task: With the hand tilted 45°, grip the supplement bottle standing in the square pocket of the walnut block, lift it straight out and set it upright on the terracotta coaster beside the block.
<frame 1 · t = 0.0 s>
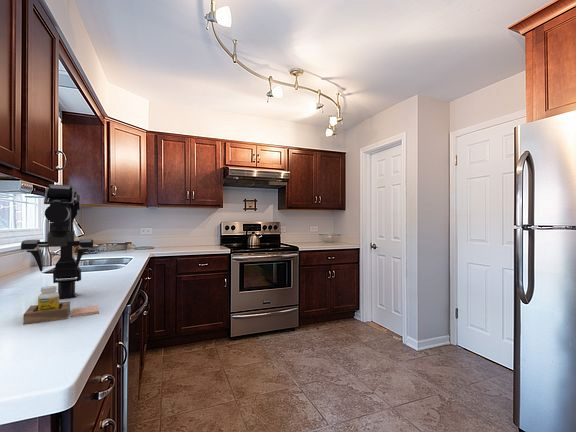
hand: (59, 270, 101), 15 cm above the table, tool pointing down, fingers open, 9 cm apart
pocket block: (48, 316, 98), on the table
coaster: (85, 312, 104), on the table
supplement bottle: (48, 317, 98), resting in pocket block
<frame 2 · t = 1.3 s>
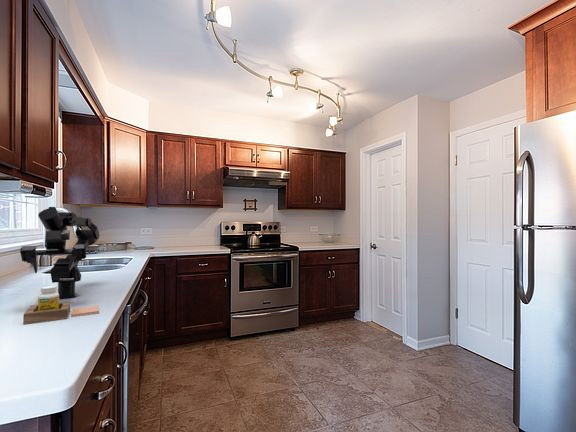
hand: (52, 271, 106), 13 cm above the table, tool tilted 45°, fingers open, 9 cm apart
nothing on the table moved.
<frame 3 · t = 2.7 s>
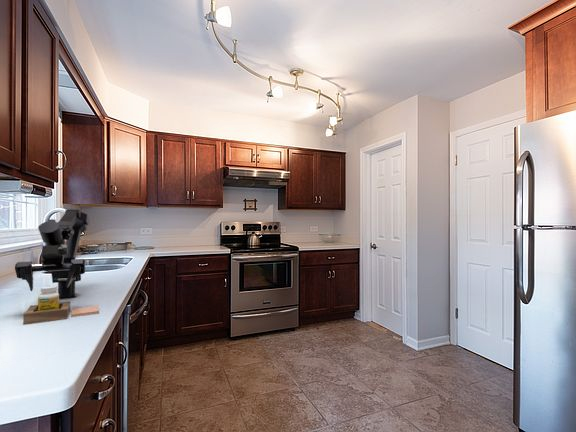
hand: (49, 288, 100), 9 cm above the table, tool tilted 45°, fingers open, 9 cm apart
nothing on the table moved.
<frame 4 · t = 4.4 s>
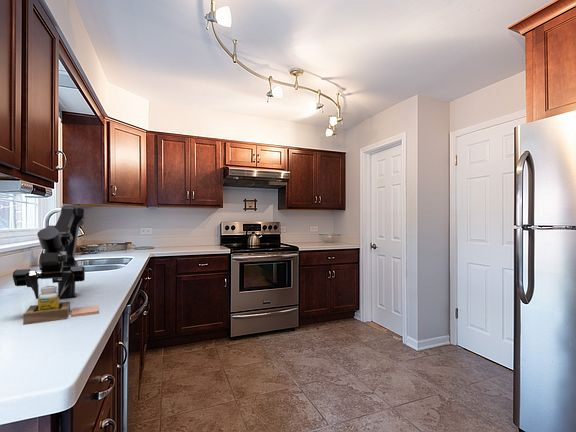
hand: (48, 297, 97), 7 cm above the table, tool tilted 45°, fingers closed on supplement bottle, 5 cm apart
supplement bottle: (48, 317, 98), resting in pocket block, touching gripper
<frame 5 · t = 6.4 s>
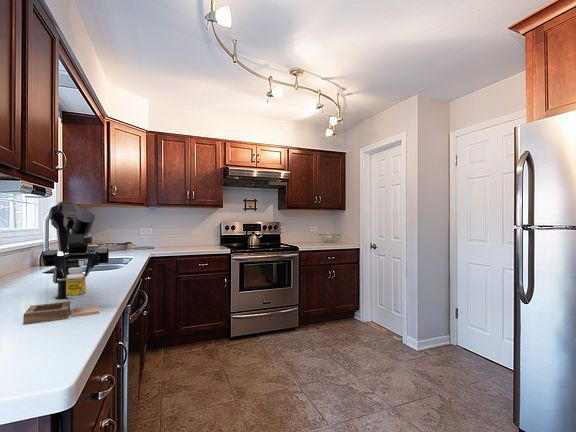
hand: (75, 276, 101), 12 cm above the table, tool tilted 45°, fingers closed on supplement bottle, 5 cm apart
supplement bottle: (75, 297, 102), point 5 cm above the table, touching gripper
when the fingers open (9 cm above the table, at t = 8.3 s): supplement bottle stays where it is, resting on coaster.
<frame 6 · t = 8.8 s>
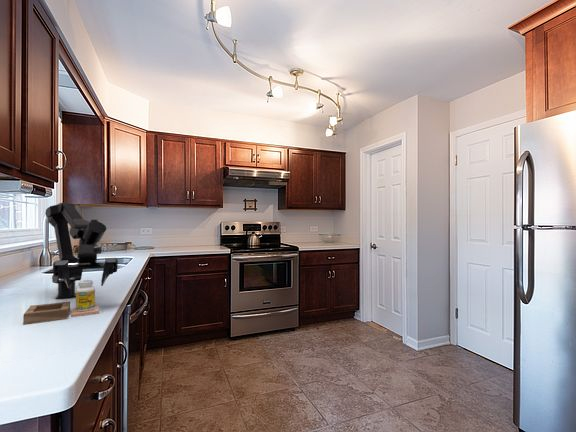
hand: (86, 286, 103), 9 cm above the table, tool tilted 45°, fingers open, 9 cm apart
supplement bottle: (85, 310, 104), point 1 cm above the table, touching coaster
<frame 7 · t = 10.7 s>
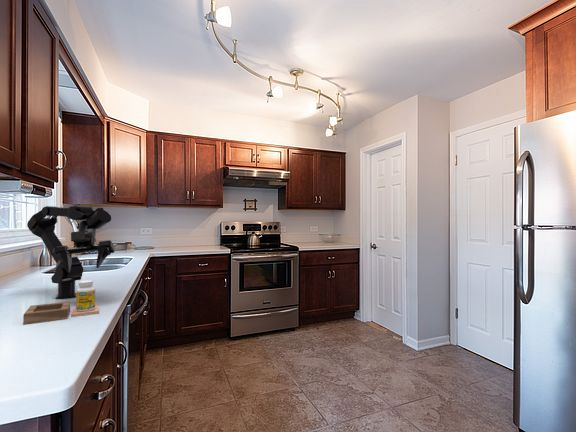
hand: (83, 269, 111), 13 cm above the table, tool tilted 35°, fingers open, 9 cm apart
nothing on the table moved.
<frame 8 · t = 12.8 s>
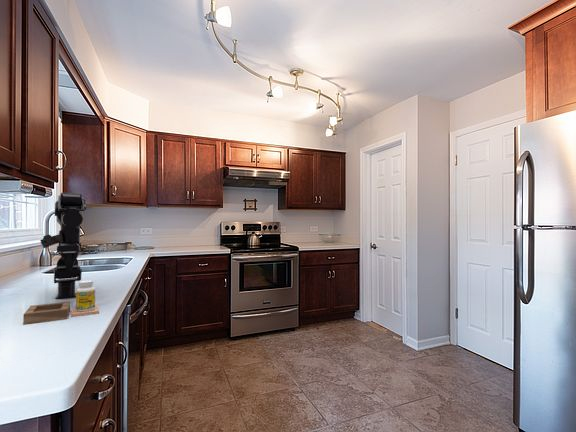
hand: (69, 269, 112), 13 cm above the table, tool pointing down, fingers open, 9 cm apart
nothing on the table moved.
at the end: supplement bottle 0.2 cm off-centre on the coaster, point 0.6 cm above the coaster's base; supplement bottle tilted 0°; the gripper is holding nothing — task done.
